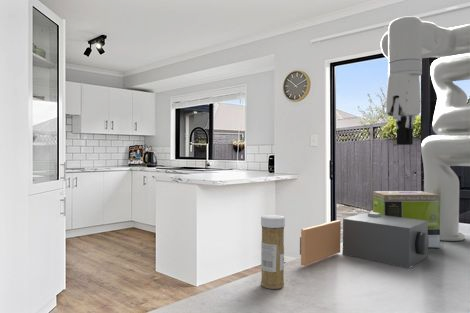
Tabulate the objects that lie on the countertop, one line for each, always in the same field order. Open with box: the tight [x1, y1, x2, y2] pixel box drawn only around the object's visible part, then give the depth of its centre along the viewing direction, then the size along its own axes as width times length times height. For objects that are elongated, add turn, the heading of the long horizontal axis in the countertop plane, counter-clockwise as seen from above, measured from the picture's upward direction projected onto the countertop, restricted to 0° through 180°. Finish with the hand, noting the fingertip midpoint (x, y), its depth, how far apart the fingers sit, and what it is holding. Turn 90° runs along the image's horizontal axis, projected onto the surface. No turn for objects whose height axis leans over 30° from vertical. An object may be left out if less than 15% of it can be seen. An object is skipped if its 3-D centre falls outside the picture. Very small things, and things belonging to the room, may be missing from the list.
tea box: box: [372, 190, 441, 249], centre depth 103 cm, size 15×10×15 cm
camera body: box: [342, 211, 429, 269], centre depth 91 cm, size 13×17×10 cm
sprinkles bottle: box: [260, 214, 286, 290], centre depth 70 cm, size 5×5×14 cm
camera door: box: [299, 219, 342, 267], centre depth 87 cm, size 2×16×8 cm, turn 135°
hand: (404, 144), depth 90 cm, fingers closed
